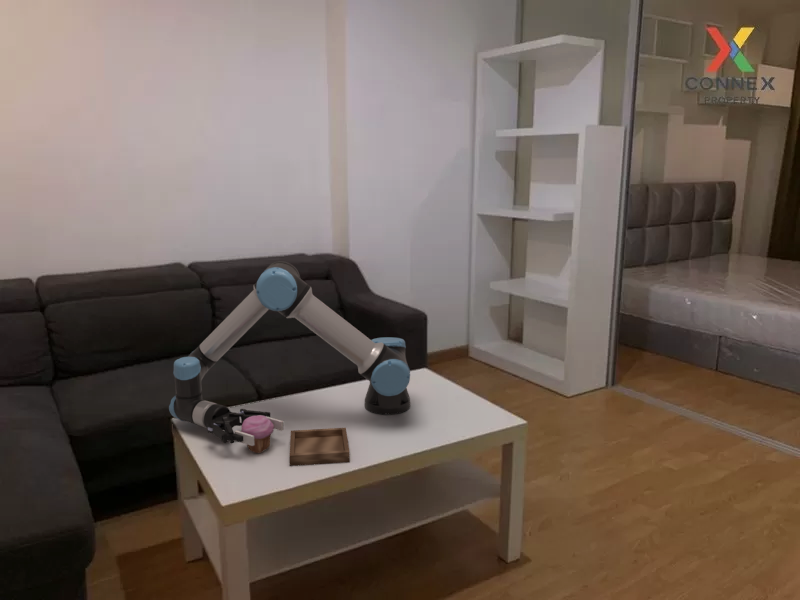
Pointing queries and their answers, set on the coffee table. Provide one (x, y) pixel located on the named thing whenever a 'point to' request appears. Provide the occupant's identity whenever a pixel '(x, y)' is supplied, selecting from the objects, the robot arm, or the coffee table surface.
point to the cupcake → (258, 432)
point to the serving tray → (319, 446)
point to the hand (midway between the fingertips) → (268, 433)
